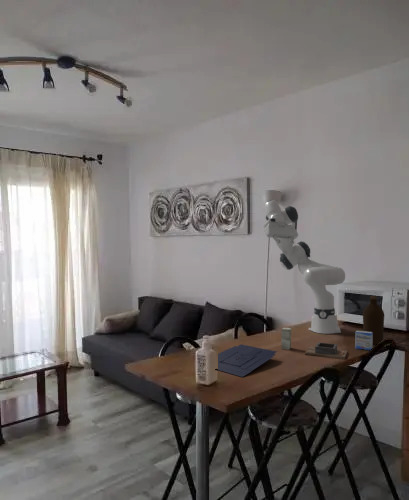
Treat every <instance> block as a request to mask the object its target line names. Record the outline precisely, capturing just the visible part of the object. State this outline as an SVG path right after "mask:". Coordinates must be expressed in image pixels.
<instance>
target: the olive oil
mask: <svg viewBox="0 0 409 500" xmlns="http://www.w3.org/2000/svg"><path fill="white" fill-rule="evenodd" d="M362 325H363V328H362V329H363V331H367V332H373V346H377V345H376V344H378V343H379V342H381V341H382V340H383V341H384V331H385V312H384V310H383V309H382V308H381V306H380V305H379V304H378V299H377V296H376V295H370V298H369V304H368V305H367V306H365V307H364V309H363V311H362Z"/></svg>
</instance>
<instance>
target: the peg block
mask: <svg viewBox="0 0 409 500" xmlns="http://www.w3.org/2000/svg"><path fill="white" fill-rule="evenodd" d="M280 331H281V332H280V333H281V334H280V335H281V339H280V340H281V342H280V343H281V345H280V347H281V350H286V351H287V350H289V351H290V349H292V328H291V327H283V328H281V329H280Z"/></svg>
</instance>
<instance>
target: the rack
mask: <svg viewBox="0 0 409 500" xmlns="http://www.w3.org/2000/svg"><path fill="white" fill-rule="evenodd" d="M347 354H348V350H346V349H344V350H343V349H338V343H337V344H336V343H327V342H326V343H325V342H317V343H316V345H315V347H314V346H308V349H307V350H306V351H305V352H304V355H305V356H311V357H312V356H313V357H322V358H331V359H339V360H340V359H341V360H345V359H346V357H347Z"/></svg>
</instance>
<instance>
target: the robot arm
mask: <svg viewBox="0 0 409 500" xmlns="http://www.w3.org/2000/svg"><path fill="white" fill-rule="evenodd" d="M264 210H265V214H266V215H265V219H266V222H265V223H264V224H263V228H264V232H265V236H266V237H267V238H271V239H273V240H274V241H275V243H276V245H277V247H278V248H279V250H280V251H281V252H282V253H280V254H279V255H280V257H279V262H280V265H281V267H283V268H284V269H286V270H288V271H290V270H292V269H293V268H294V267H296V266H297V269H298V271H299V272H300V273H301V274H302V275H303V281H304V282H305V283H306V285H308V286H309V287H310V288H311V290H312V292H313V295H314V309H313V313H314V314H313V315H312V316H311V327H308V331H311V332H314V333H318V334H325V335H326V334H328V335H329V334H340V333H342V331H341V327H340V326H339V323H338V318H337V317H336V315H335V314H336V309H335V296H334V294H333V293H332V292H330V291H329V290H327V287H326V286H337V285H340V284H343V283H344V281H345V280H346V272H345V270H344V269H343V268H342V267H338V266H332V265H329V264H324V263H319V262H317V261H315V260H312V259H310V258H311V248H310V246H309V245H308V243H306V242H305V241H302V240H301V241H299V242H297V243H296V244H295V240H296V239H297V238H298V237H299V234H298V231H297V229H298V219H299V212H298V210H297V209H296V207H295V206H291V205H289V206H286V207H284V208H283V209H282V208H281V206H280V205H279V203H278V201H277V200H275V199H271V200H269V201H267V202H265V203H264Z"/></svg>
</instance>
